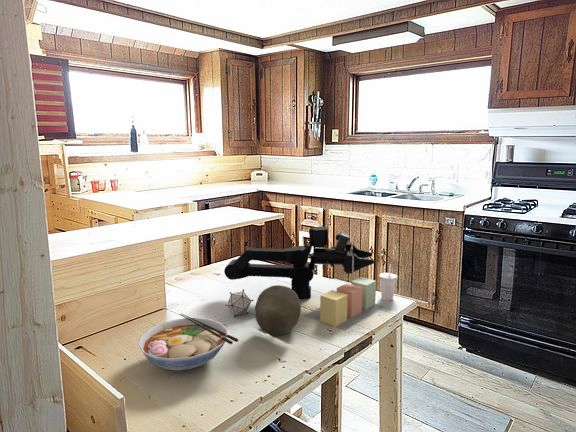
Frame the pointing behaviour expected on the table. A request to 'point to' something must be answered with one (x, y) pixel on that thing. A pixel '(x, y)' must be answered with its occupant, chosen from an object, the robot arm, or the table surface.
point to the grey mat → (350, 321)
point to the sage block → (366, 291)
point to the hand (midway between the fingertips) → (373, 257)
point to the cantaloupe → (277, 310)
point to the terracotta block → (352, 298)
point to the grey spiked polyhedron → (239, 303)
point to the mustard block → (333, 308)
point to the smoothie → (387, 284)
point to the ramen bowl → (184, 342)
